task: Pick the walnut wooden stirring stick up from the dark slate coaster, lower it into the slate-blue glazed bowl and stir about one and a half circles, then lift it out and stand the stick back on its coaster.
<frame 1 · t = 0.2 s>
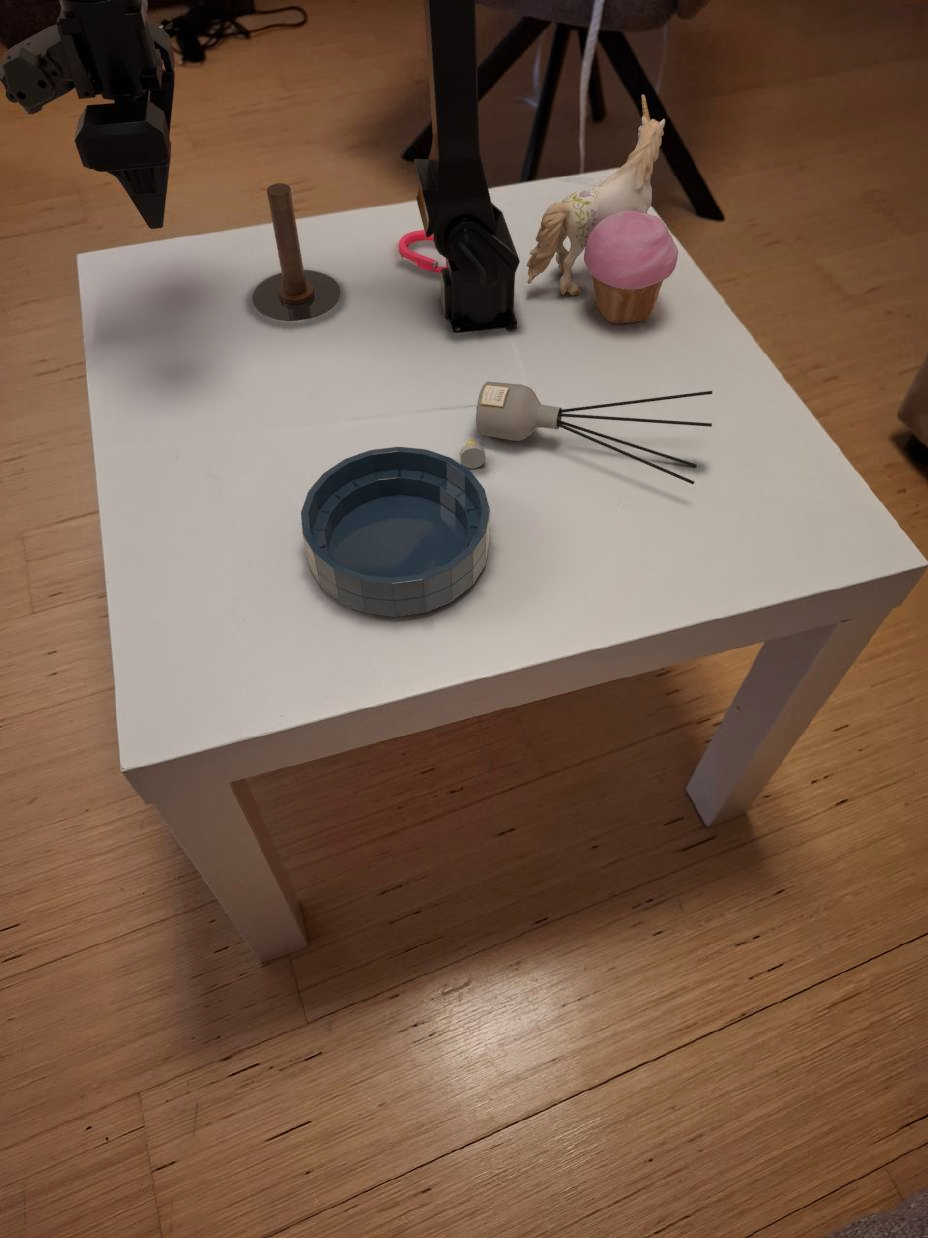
hand: (158, 198, 77), 15 cm above the table, tool pointing down, fingers open, 9 cm apart
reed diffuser: (581, 458, 79), on the table
unicorn figurine: (584, 261, 98), on the table
stirring stick: (296, 294, 93), resting on coaster
bowl: (399, 550, 73), on the table
fitness band: (434, 259, 98), on the table
coaster: (297, 298, 93), on the table
cupcake: (620, 314, 92), on the table
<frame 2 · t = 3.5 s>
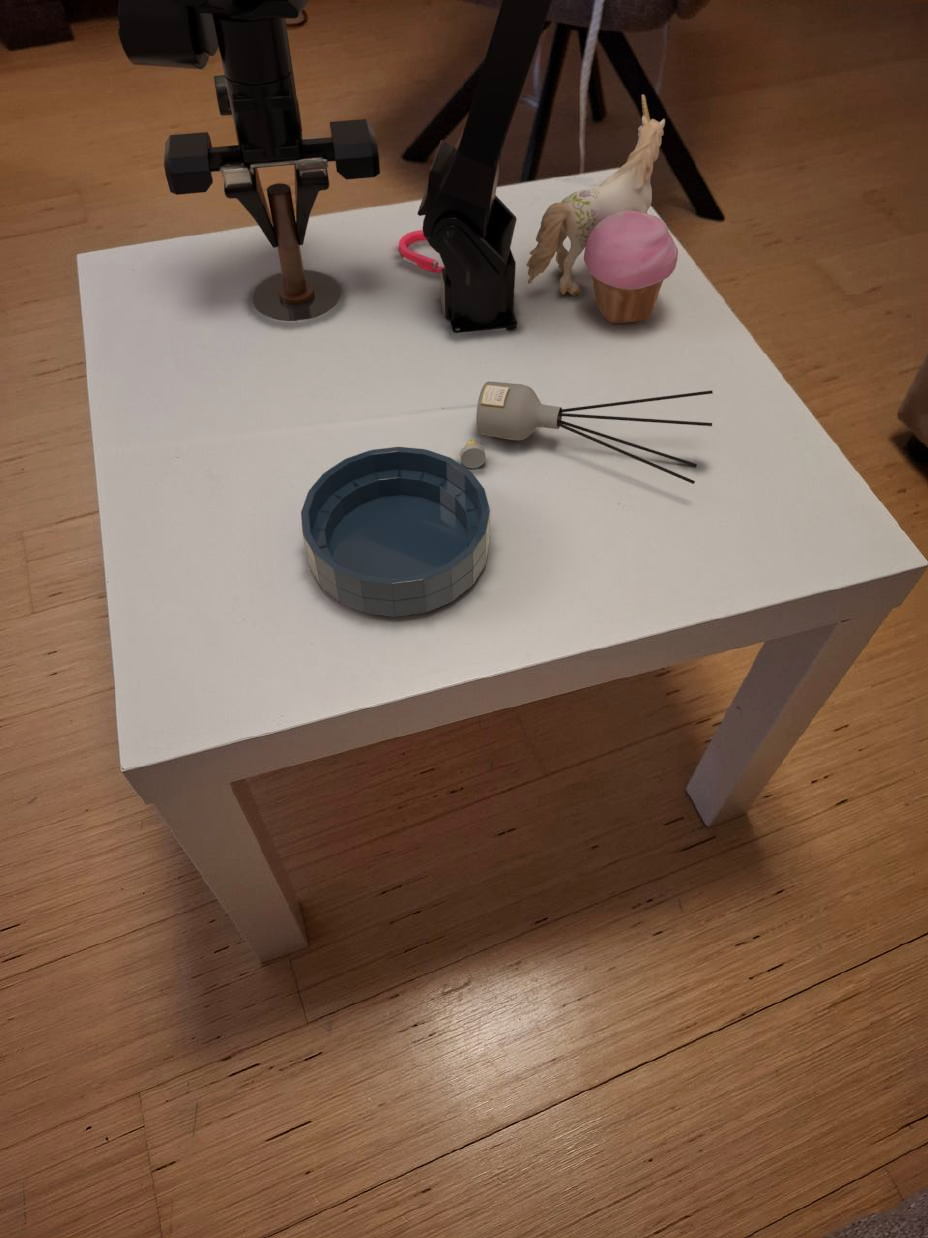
hand: (288, 244, 89), 6 cm above the table, tool pointing down, fingers closed on stirring stick, 2 cm apart
stirring stick: (296, 294, 93), point 1 cm above the table, touching coaster, gripper
everything else where it was.
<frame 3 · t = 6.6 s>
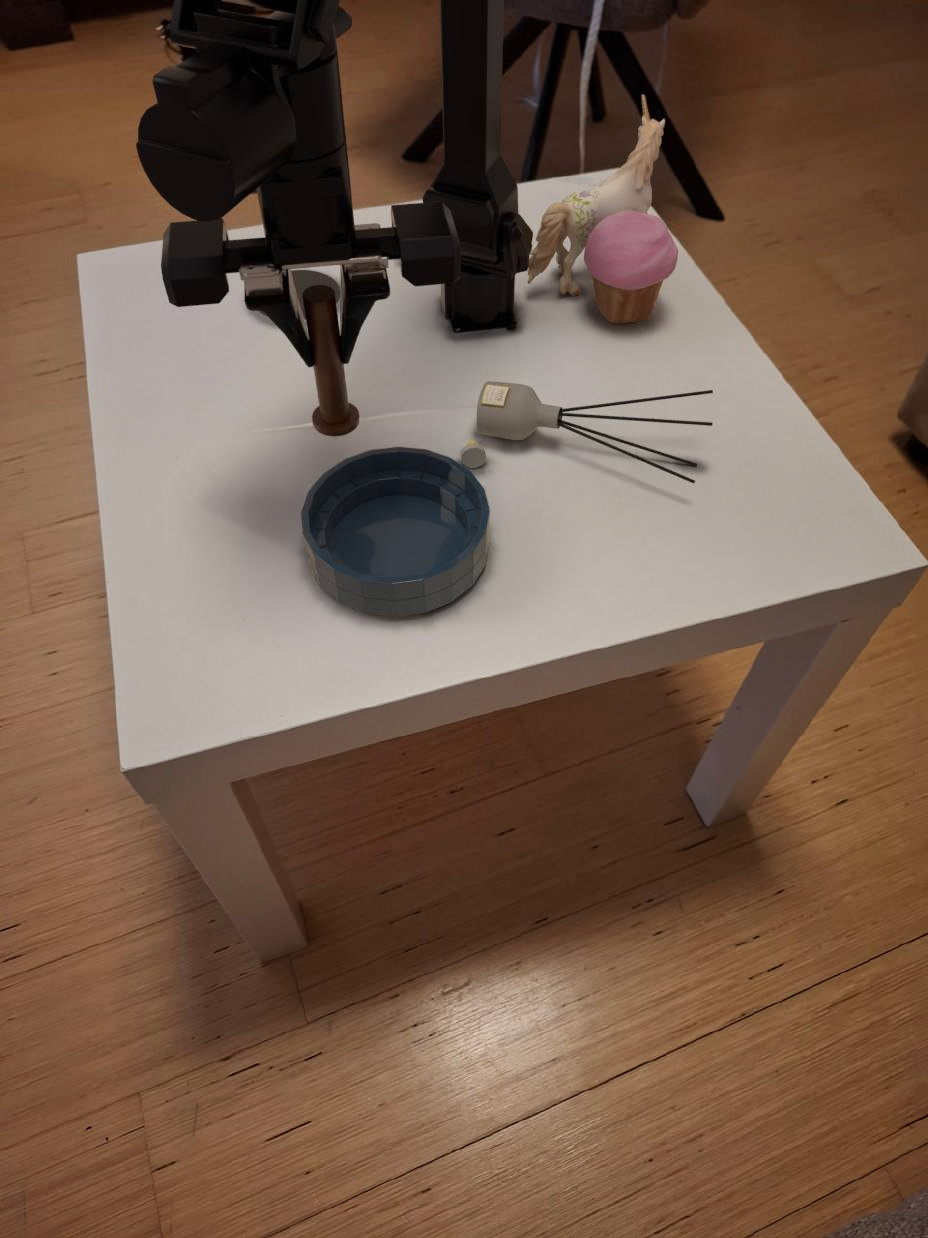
hand: (328, 361, 66), 13 cm above the table, tool pointing down, fingers closed on stirring stick, 2 cm apart
stirring stick: (336, 421, 70), point 8 cm above the table, touching gripper
everything else where it was.
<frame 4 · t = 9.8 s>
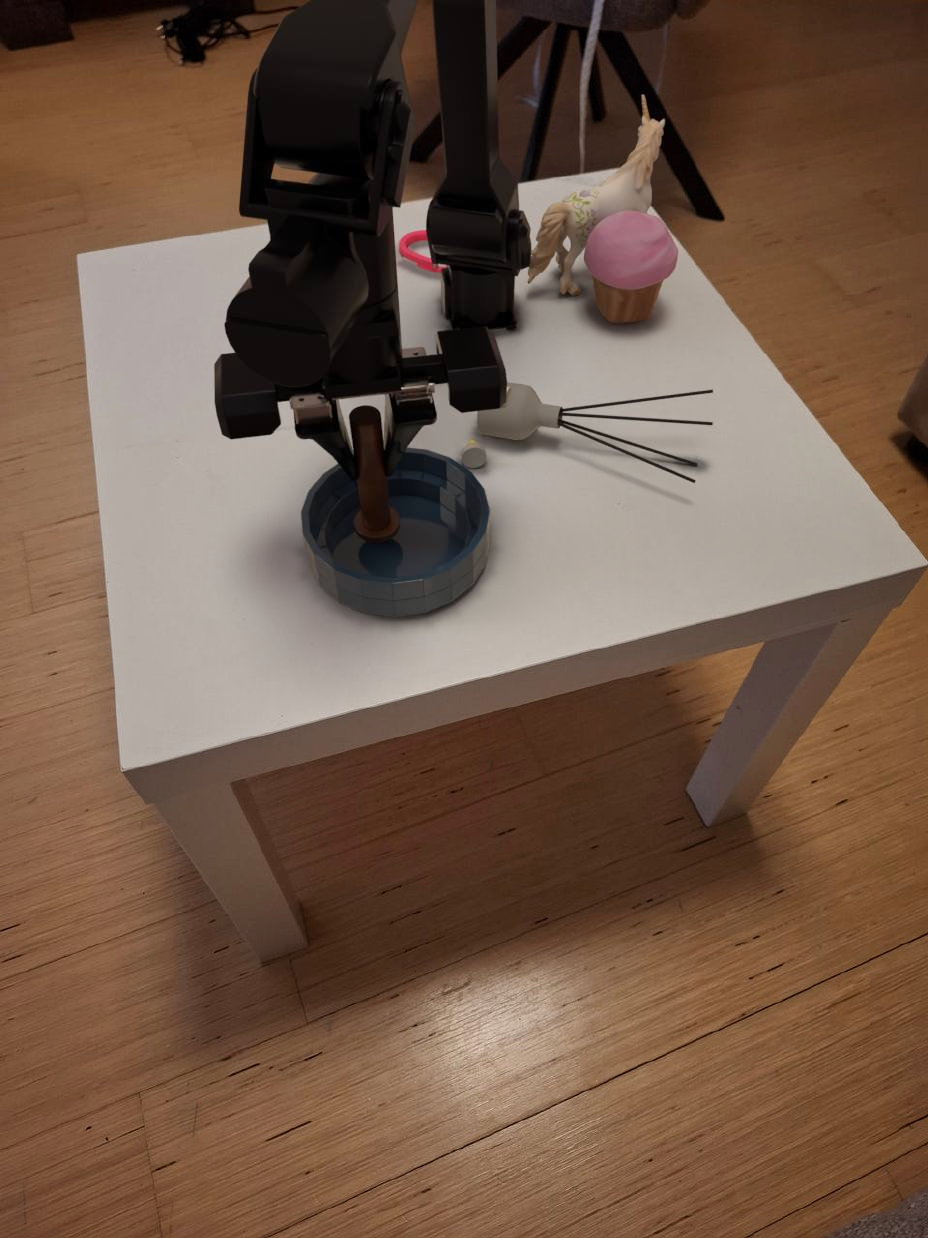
hand: (371, 474, 67), 8 cm above the table, tool pointing down, fingers closed on stirring stick, 2 cm apart
stirring stick: (377, 525, 71), point 2 cm above the table, touching gripper
everything else where it was.
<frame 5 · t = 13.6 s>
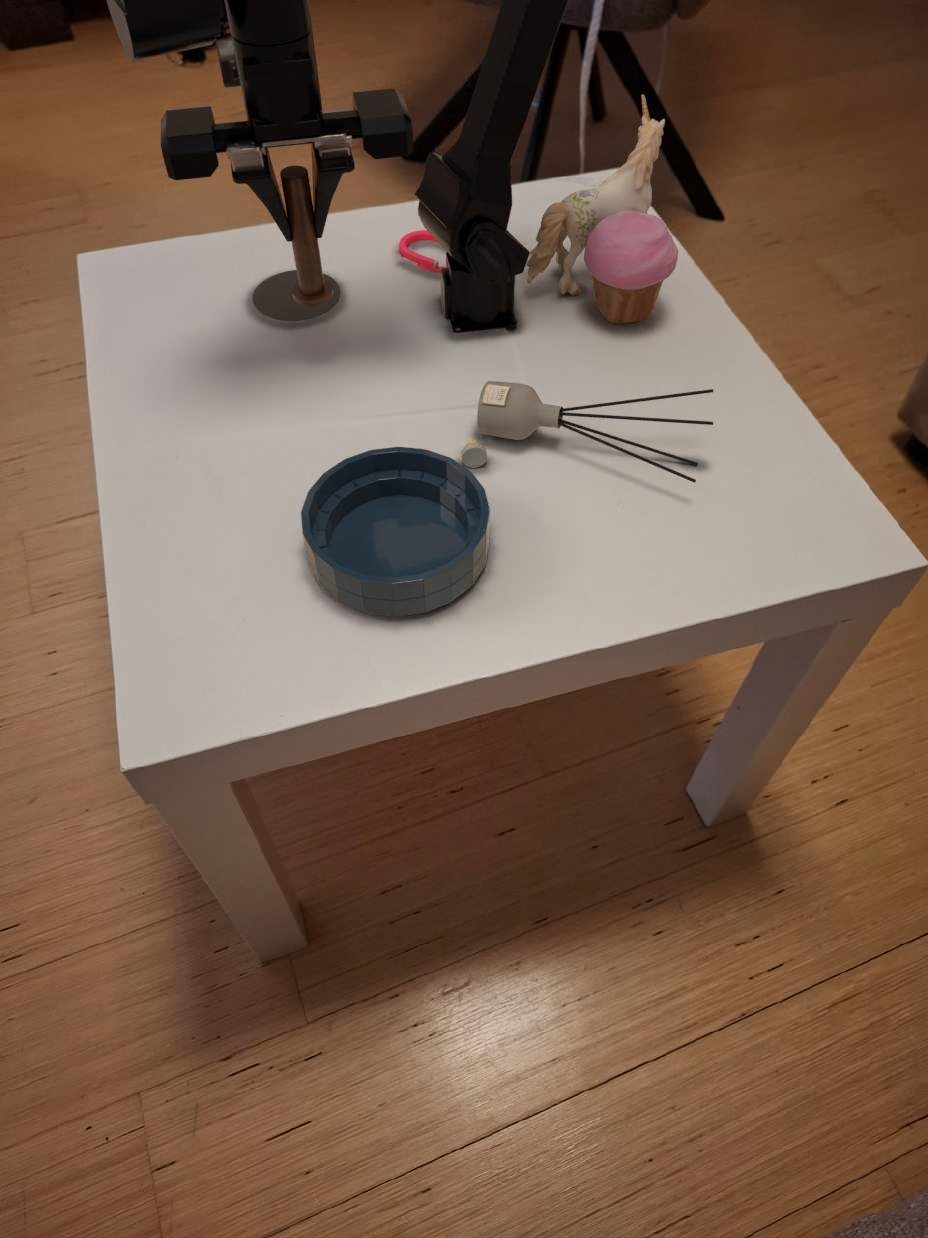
hand: (304, 237, 77), 13 cm above the table, tool pointing down, fingers closed on stirring stick, 2 cm apart
stirring stick: (313, 294, 81), point 7 cm above the table, touching gripper
everything else where it was.
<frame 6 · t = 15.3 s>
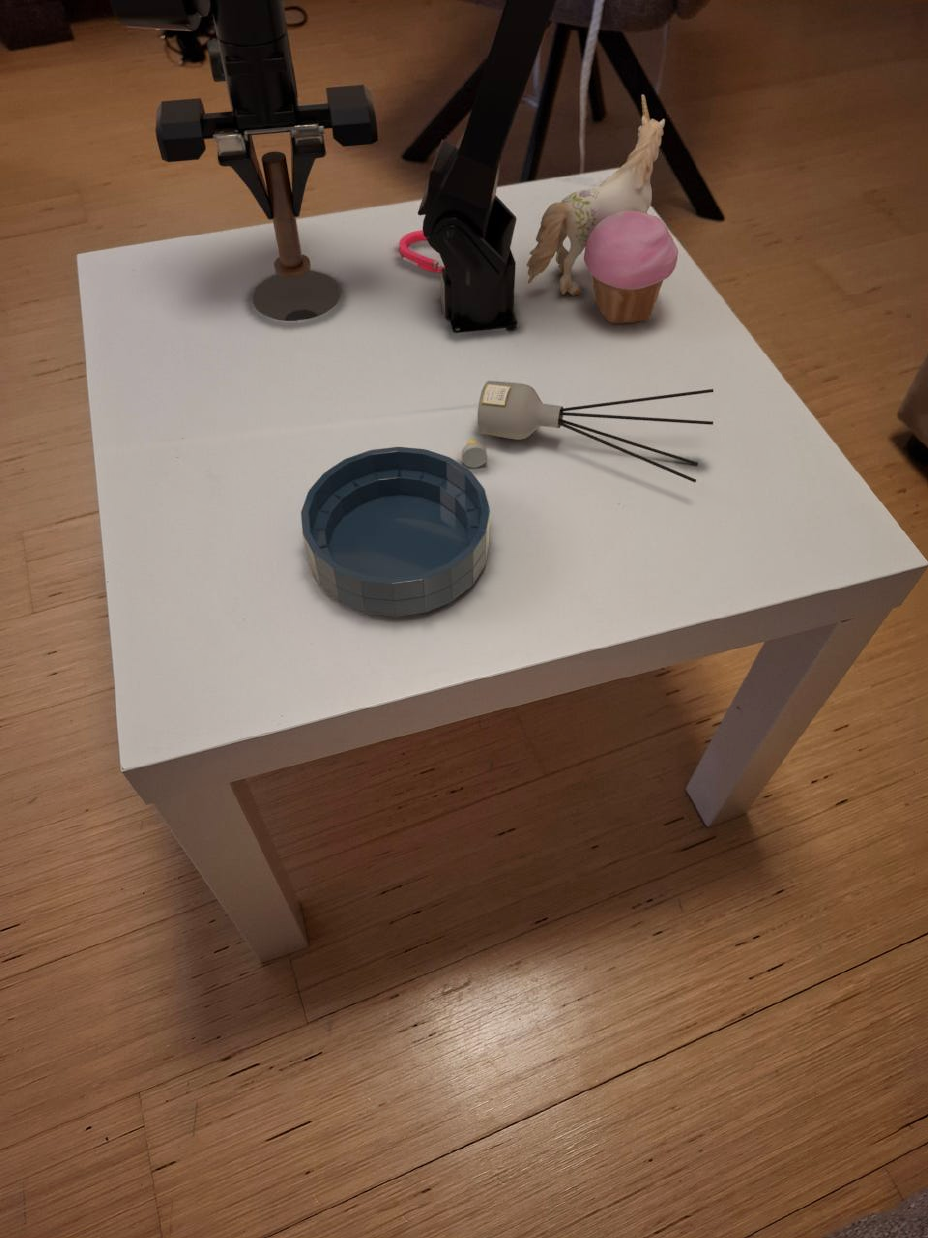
hand: (283, 215, 86), 9 cm above the table, tool pointing down, fingers closed on stirring stick, 2 cm apart
stirring stick: (292, 268, 91), point 3 cm above the table, touching gripper
everything else where it was.
when the fingers open (6 cm above the table, at t = 16.3 s): stirring stick stays where it is, resting on coaster.
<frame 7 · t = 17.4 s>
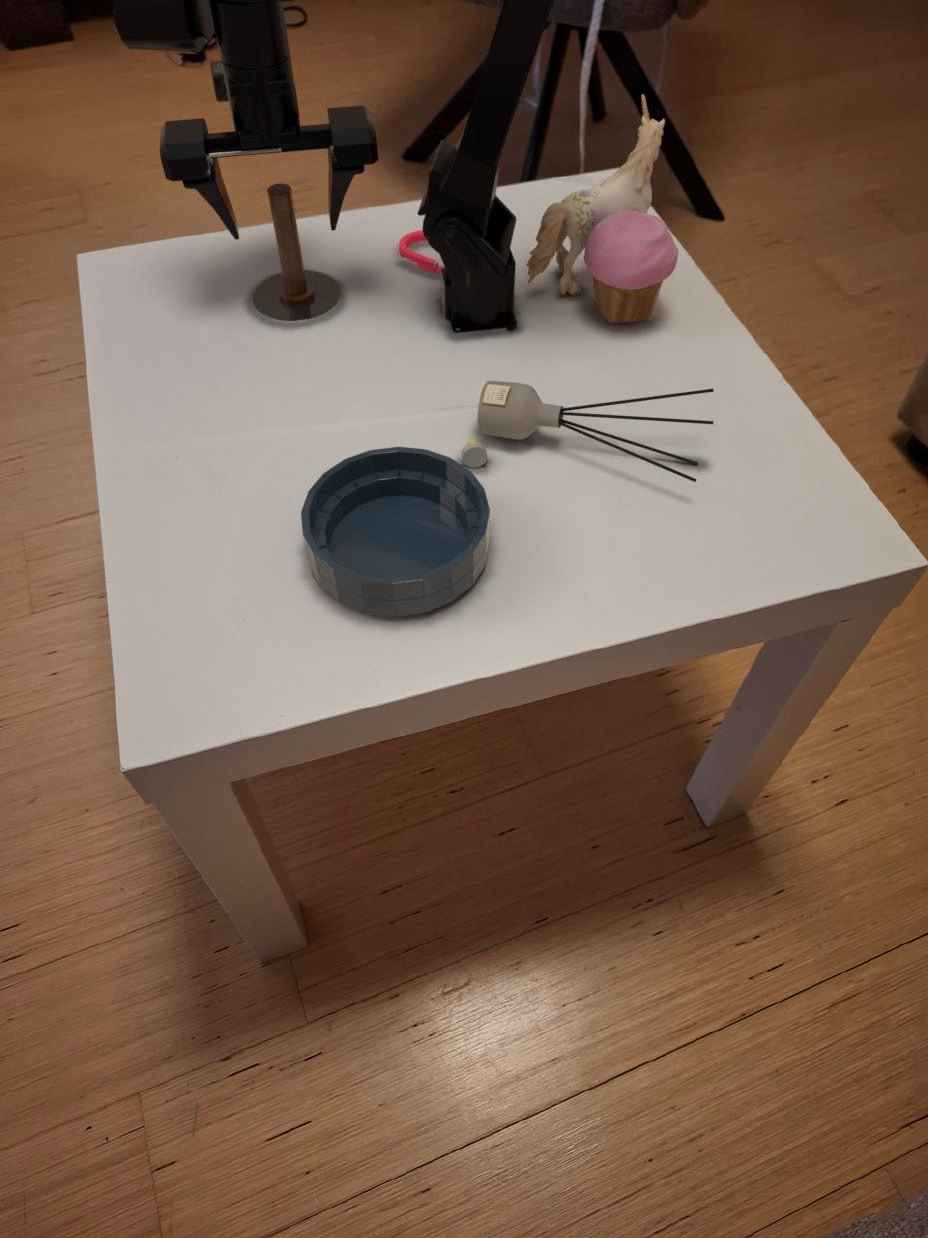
hand: (285, 232, 88), 7 cm above the table, tool pointing down, fingers open, 9 cm apart
stirring stick: (297, 294, 93), resting on coaster
everything else where it was.
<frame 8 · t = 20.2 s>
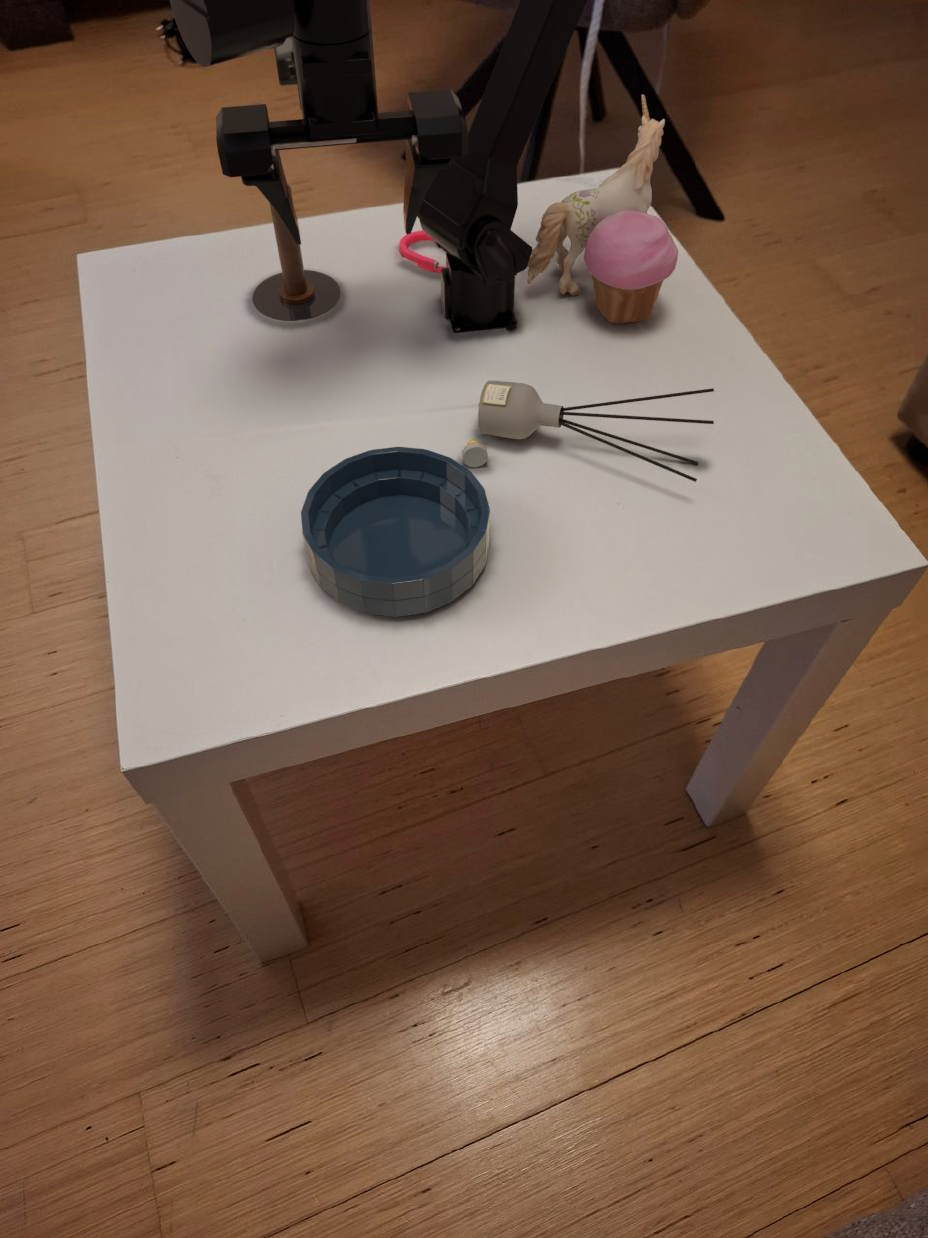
hand: (353, 236, 76), 13 cm above the table, tool pointing down, fingers open, 9 cm apart
nothing on the table moved.
at the end: stirring stick 0.0 cm off-centre on the coaster, point 0.5 cm above the coaster's base; stirring stick tilted 0°; stirring stick touching coaster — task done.
